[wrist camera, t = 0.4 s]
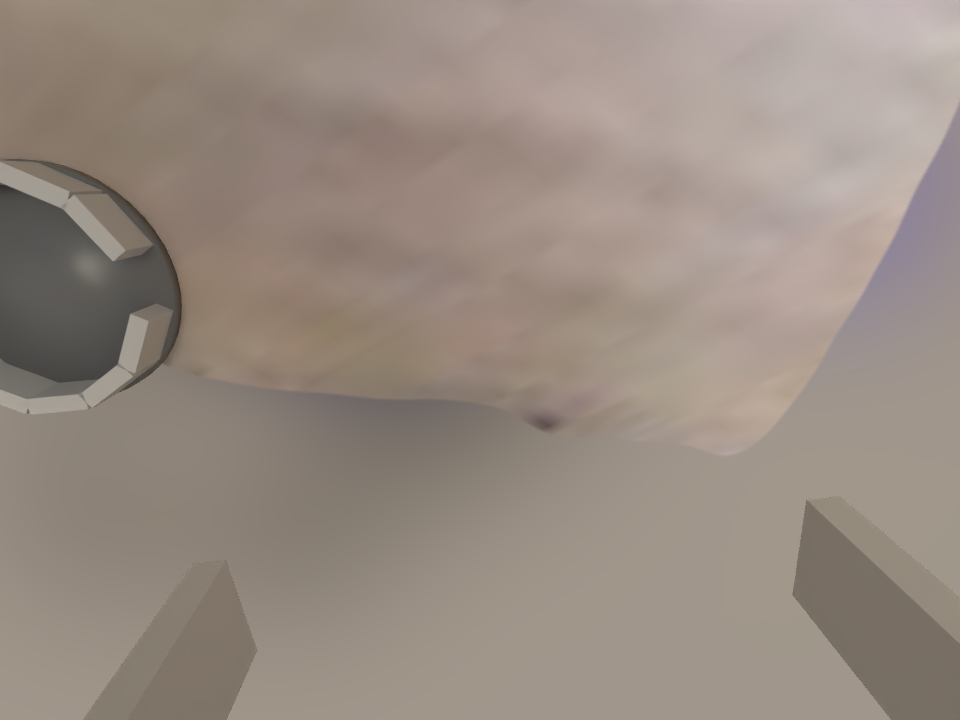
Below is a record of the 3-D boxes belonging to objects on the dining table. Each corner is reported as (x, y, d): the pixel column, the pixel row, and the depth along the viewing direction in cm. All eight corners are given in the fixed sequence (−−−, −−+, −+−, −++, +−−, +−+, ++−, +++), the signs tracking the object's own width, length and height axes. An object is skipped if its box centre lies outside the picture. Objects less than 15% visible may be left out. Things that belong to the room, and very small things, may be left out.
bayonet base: (-114, 171, 33) (-188, 170, 30) (139, 148, 33) (98, 144, 30) (-9, 403, 39) (-59, 426, 35) (208, 383, 39) (180, 405, 35)
